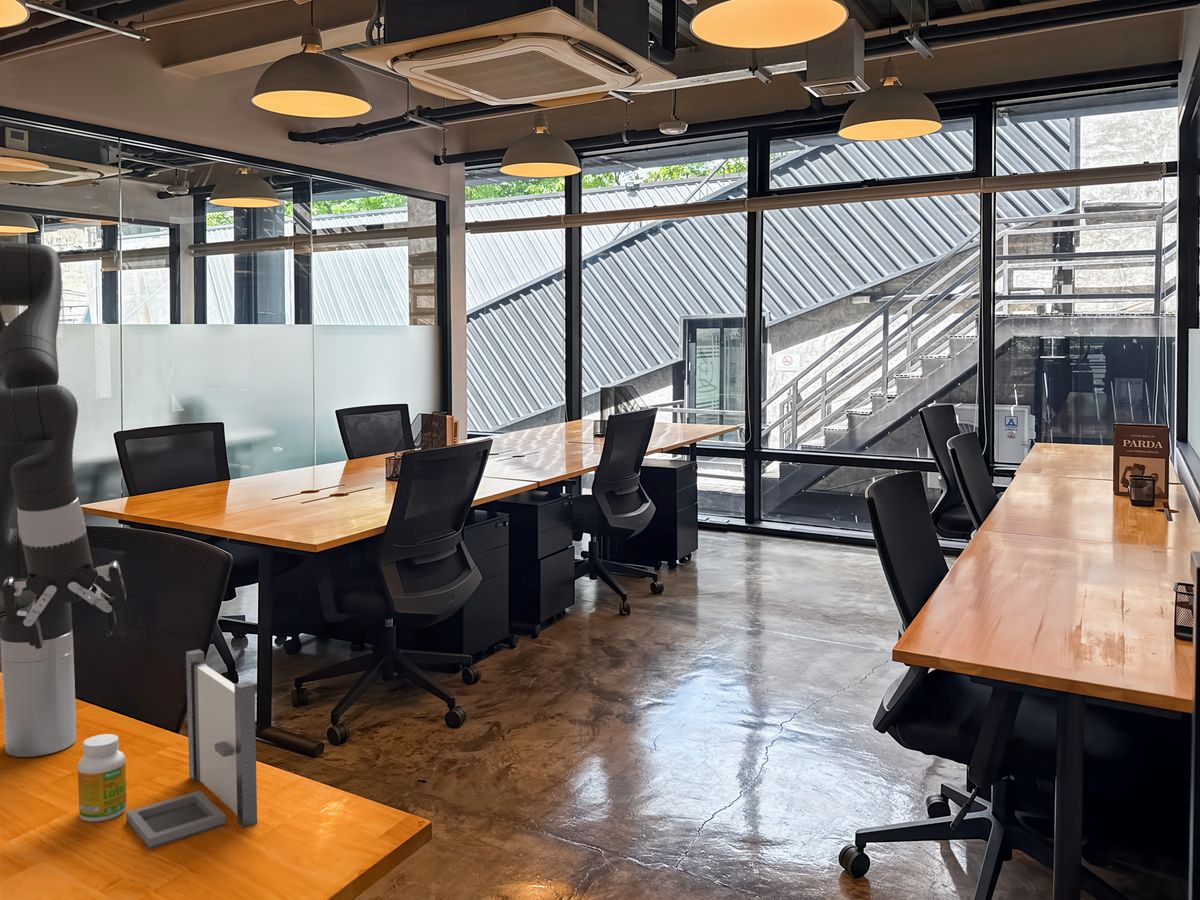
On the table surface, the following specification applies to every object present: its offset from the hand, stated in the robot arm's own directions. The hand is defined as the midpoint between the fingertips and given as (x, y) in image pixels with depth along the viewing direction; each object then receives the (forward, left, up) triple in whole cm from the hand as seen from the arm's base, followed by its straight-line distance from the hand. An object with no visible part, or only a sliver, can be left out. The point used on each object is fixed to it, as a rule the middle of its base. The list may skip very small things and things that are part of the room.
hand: (74, 639), depth 128 cm
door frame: (+21, +12, -19) cm, 31 cm away
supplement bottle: (+14, -1, -20) cm, 24 cm away
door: (+21, +11, -19) cm, 30 cm away
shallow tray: (+23, +5, -19) cm, 31 cm away
